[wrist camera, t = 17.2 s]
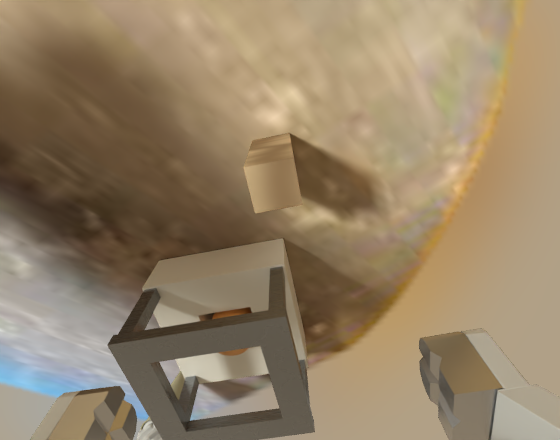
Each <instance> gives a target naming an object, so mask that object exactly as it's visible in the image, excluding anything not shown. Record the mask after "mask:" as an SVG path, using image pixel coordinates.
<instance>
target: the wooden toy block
mask: <svg viewBox="0 0 560 440" xmlns="http://www.w3.org/2000/svg"><path fill="white" fill-rule="evenodd" d="M243 168H244V172H245V176H246V180H247V184H248V188H249V192H250V196H251V200H252V204H253V208H254V211H255V213H261V212H266V211H272V210H277V209H282V208H288V207H293V206H299V205H302V199H301V194H300V188H299V183H298V177H297V172H296V166H295V161H294V156H293V150H292V145H291V139H290V134H289V133H287V134H282V135H277V136H272V137H267V138H262V139H257V140H253V141H252V144H251V147H250V150H249V152H248V155H247V158H246V161H245V164H244V167H243Z"/></svg>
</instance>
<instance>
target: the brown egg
mask: <svg viewBox="0 0 560 440" xmlns="http://www.w3.org/2000/svg"><path fill="white" fill-rule="evenodd" d="M248 313H252V311H251V308H250V307H247V308H241V309H235V310H229V311H222V312H216V313H214V314H213V318H212V319H217V318H223V317H229V316H235V315H241V314H248ZM247 349H248V348H245V349H238V350H232V351H225V352H219V353H220V354H222V355H227V356H234V355H239V354H241V353H243V352H245V351H246V350H247Z"/></svg>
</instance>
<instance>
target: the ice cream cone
mask: <svg viewBox="0 0 560 440" xmlns="http://www.w3.org/2000/svg"><path fill="white" fill-rule="evenodd" d="M184 381H185V379H184V376H183V374H182V372H181V371H180V372H179V374H178V375H177V377H176V378H175V379H174V381H173V382H172V384H171V387H172V389H173V391H174V393H175V395H176V397H177V399H178V400H179V398H180V394H181V391H182V388H183V384H184ZM137 440H163V439H162V438H161V436H160V434H159V433H158V431H157V429H156V427H155V426H154V424H153V422H152V421H151V419H150V417H148V419H147V420H146V421H145V422H144V423H143V424H142V426H141V430H140V431H139V433H138V438H137Z"/></svg>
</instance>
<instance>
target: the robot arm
mask: <svg viewBox="0 0 560 440" xmlns="http://www.w3.org/2000/svg"><path fill="white" fill-rule="evenodd" d="M419 349H420V351H421V353H422V355H423V358H422V359H421V360H420V372H421V377H422V381H423V384H424V386H425V389H426V392H427V394H428V396H429V398H430V400H431V401H432V402H434V403H435V404H436V405H438V409H439V410H438V412H439V413H438V416H439V417H438V418H439V420H440V422H441V424H442V426H443V428H444V430H445V432H446V435H447V437H448V439H449V440H560V397H559V396H557V395H555V394H553V393H551V392H550V391H548V390H546V389H544V388H542V387H541V386H539V385H529V383H528V382H527V381H526V380H525V379H524V377H523V376H522V375H521V374H520V372H519V371H518V370H517V369H516V367H515V366H514V365H513V364H512V362H511V361H510V360H509V359H508V358H507V356H506V355H505V354H504V353H503V351H502V350H501V349H500V348H499V347H498V345H497V344H496V343H495V341H494V340H493V339H492V338H491V337H490V335H489V334H488V333H487V332H486V331H485V330H483V329H482V328H480V329H474V330H468V331H461V332H453V333H447V334H441V335H436V336H430V337H424V338H421V339H420V341H419ZM124 396H125V393H124V391H123V390H122V388H121V387H120V386H114V387H106V388H98V389H90V390H82V391H76V392H69V393H64V394H62V395H61V396H60V397H58V398H57V399H56V401H55V403H54V404H53V406H52V407H51V409H50V410H49V412H48V413H47V415H46V416H45V418H44V419H43V421H42V422H41V424H40V425H39V427H38V428H37V430H36V431H35V433H34V434H33V436H32V437H31V439H30V440H133V437H134V434H135V432H136V423H137V416H136V412H135V409H134V407H133V406H132V404H130V403H128V402H126V401H124V400H123V399H124Z"/></svg>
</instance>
